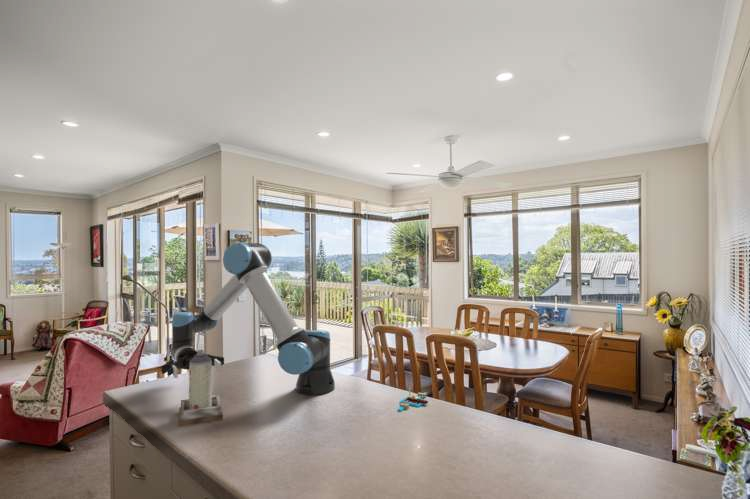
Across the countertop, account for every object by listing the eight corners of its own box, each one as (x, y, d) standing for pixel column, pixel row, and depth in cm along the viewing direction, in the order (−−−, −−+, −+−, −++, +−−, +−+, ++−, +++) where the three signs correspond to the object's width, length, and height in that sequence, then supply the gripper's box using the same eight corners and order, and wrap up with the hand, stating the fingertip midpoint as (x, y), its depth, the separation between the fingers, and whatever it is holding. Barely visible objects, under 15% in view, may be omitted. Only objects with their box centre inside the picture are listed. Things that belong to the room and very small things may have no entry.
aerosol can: (194, 407, 137) (194, 347, 137) (214, 406, 137) (214, 347, 137) (185, 414, 130) (185, 352, 130) (206, 414, 130) (206, 352, 130)
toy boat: (439, 398, 149) (416, 393, 154) (438, 383, 149) (416, 379, 155) (413, 416, 133) (389, 410, 138) (412, 399, 133) (389, 394, 138)
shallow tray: (220, 405, 142) (220, 394, 142) (222, 419, 130) (222, 406, 130) (179, 411, 136) (179, 399, 136) (178, 426, 124) (178, 413, 125)
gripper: (221, 362, 159) (236, 375, 141) (149, 372, 145) (156, 388, 127) (221, 343, 159) (236, 353, 141) (149, 351, 145) (156, 364, 127)
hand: (198, 370), depth 134 cm, fingers open, 13 cm apart
